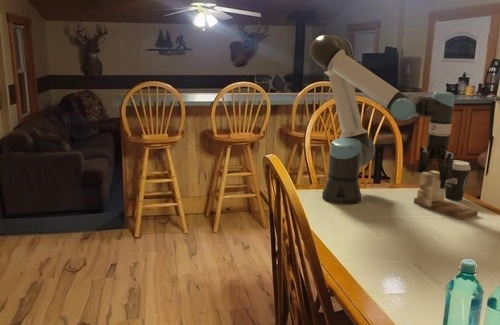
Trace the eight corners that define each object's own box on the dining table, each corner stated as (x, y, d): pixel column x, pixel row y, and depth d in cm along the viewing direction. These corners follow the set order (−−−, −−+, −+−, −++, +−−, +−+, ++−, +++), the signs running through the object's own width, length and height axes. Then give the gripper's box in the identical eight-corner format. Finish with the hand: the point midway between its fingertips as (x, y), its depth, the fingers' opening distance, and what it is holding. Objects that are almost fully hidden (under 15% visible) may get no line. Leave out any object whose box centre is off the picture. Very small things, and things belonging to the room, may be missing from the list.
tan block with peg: (416, 202, 180) (419, 172, 178) (433, 198, 185) (437, 169, 183) (429, 206, 175) (433, 176, 173) (446, 202, 180) (450, 173, 178)
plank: (413, 202, 183) (414, 197, 183) (429, 199, 188) (429, 194, 187) (461, 219, 166) (462, 214, 165) (477, 215, 170) (478, 210, 170)
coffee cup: (444, 193, 197) (448, 158, 194) (468, 198, 192) (473, 162, 188) (438, 198, 190) (442, 162, 186) (463, 203, 184) (468, 166, 181)
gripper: (411, 130, 180) (405, 188, 185) (455, 139, 164) (447, 202, 170) (424, 129, 184) (418, 186, 189) (468, 137, 168) (460, 199, 173)
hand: (431, 193), depth 179 cm, fingers closed on tan block with peg, 6 cm apart
